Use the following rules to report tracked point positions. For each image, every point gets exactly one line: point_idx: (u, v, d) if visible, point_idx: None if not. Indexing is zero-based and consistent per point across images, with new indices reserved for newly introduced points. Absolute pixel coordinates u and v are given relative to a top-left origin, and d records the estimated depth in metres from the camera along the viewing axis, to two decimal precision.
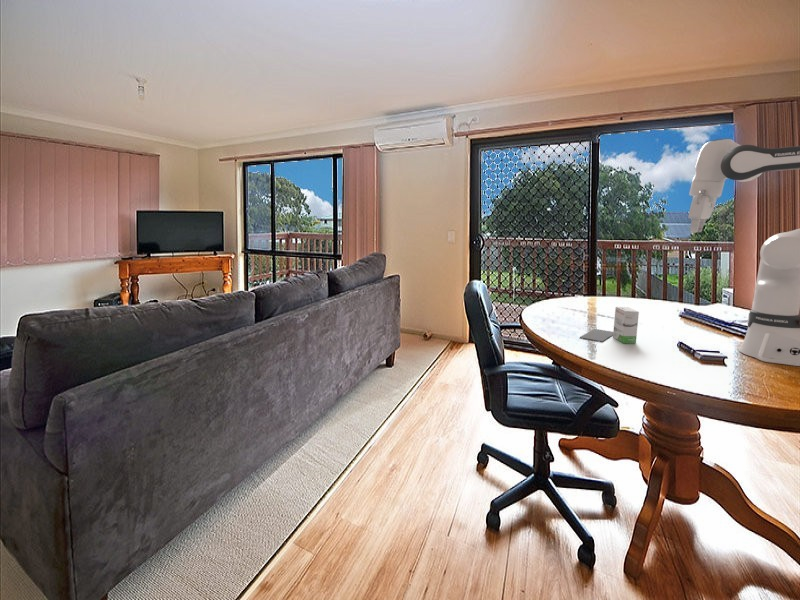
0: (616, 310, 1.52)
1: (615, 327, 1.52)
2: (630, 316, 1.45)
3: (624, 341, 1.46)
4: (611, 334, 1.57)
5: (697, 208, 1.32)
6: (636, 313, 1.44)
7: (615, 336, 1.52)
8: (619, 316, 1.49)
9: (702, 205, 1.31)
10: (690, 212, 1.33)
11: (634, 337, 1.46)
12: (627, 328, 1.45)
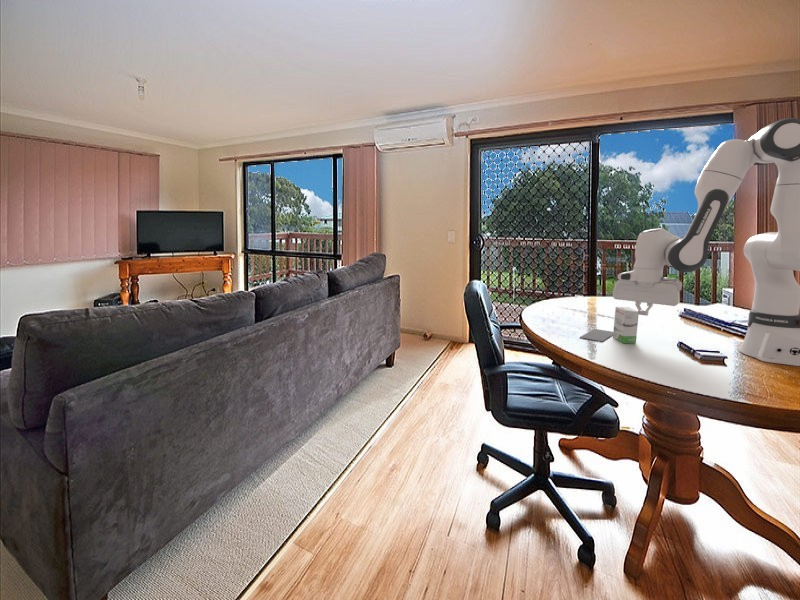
0: (616, 310, 1.52)
1: (615, 327, 1.52)
2: (630, 316, 1.45)
3: (624, 341, 1.46)
4: (611, 334, 1.57)
5: (679, 296, 1.37)
6: (636, 313, 1.44)
7: (615, 336, 1.52)
8: (619, 316, 1.49)
9: (679, 292, 1.38)
10: (678, 300, 1.36)
11: (634, 337, 1.46)
12: (627, 328, 1.45)
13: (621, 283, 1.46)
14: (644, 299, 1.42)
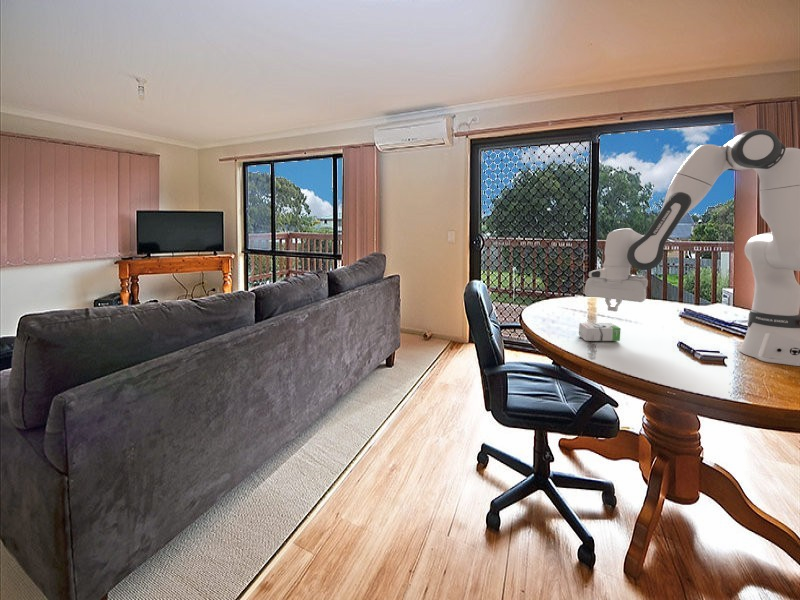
0: None
1: None
2: (591, 336, 1.48)
3: (618, 339, 1.47)
4: None
5: (645, 292, 1.44)
6: (589, 330, 1.48)
7: None
8: None
9: (645, 289, 1.44)
10: (644, 296, 1.43)
11: (614, 330, 1.47)
12: (604, 337, 1.47)
13: (591, 281, 1.53)
14: (613, 296, 1.49)
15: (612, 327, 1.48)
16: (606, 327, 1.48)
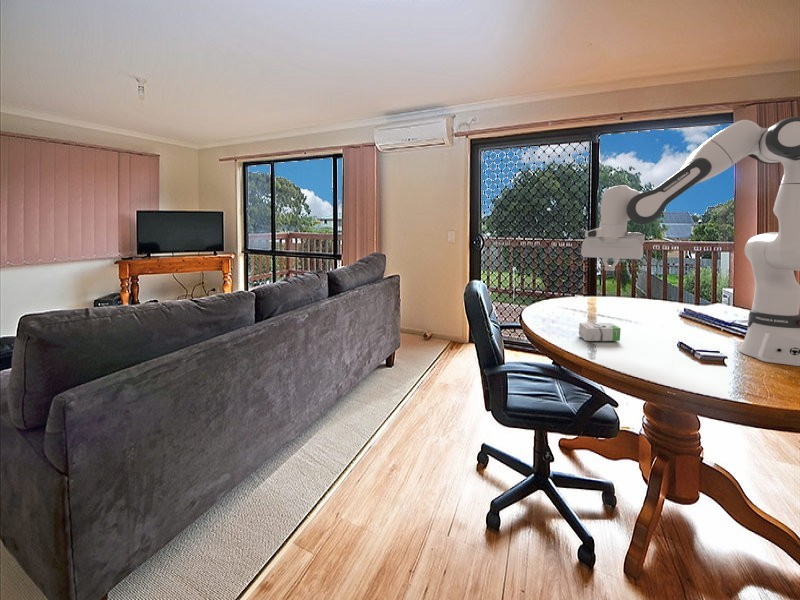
0: None
1: None
2: (591, 336, 1.48)
3: (618, 339, 1.47)
4: None
5: (642, 249, 1.43)
6: (589, 330, 1.48)
7: None
8: None
9: (642, 246, 1.43)
10: (641, 253, 1.42)
11: (614, 330, 1.47)
12: (604, 337, 1.47)
13: (588, 241, 1.52)
14: (610, 254, 1.48)
15: (612, 327, 1.48)
16: (606, 327, 1.48)
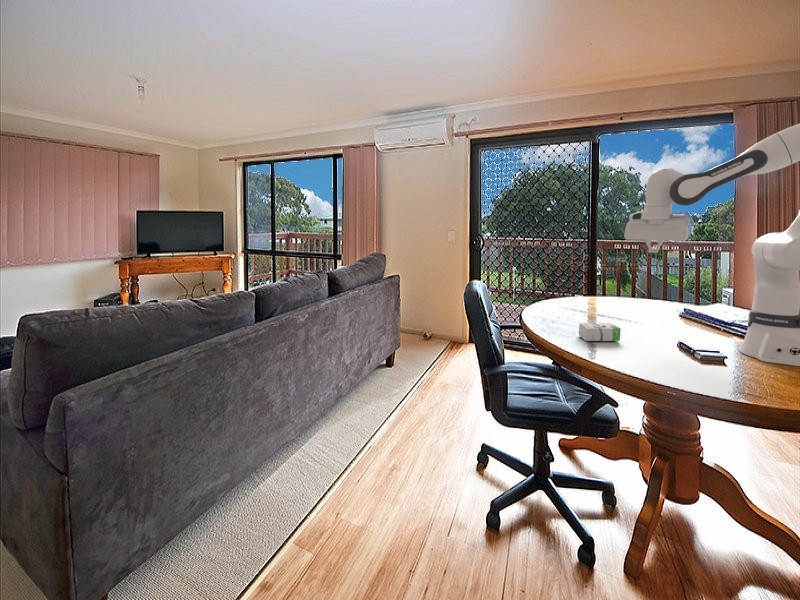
0: None
1: None
2: (591, 336, 1.48)
3: (618, 339, 1.47)
4: None
5: (687, 231, 1.46)
6: (589, 330, 1.48)
7: None
8: None
9: (687, 228, 1.47)
10: (686, 235, 1.45)
11: (614, 330, 1.47)
12: (604, 337, 1.47)
13: (632, 223, 1.55)
14: (654, 237, 1.51)
15: (612, 327, 1.48)
16: (606, 327, 1.48)
